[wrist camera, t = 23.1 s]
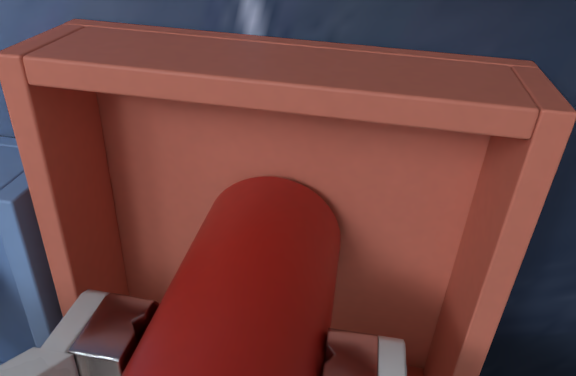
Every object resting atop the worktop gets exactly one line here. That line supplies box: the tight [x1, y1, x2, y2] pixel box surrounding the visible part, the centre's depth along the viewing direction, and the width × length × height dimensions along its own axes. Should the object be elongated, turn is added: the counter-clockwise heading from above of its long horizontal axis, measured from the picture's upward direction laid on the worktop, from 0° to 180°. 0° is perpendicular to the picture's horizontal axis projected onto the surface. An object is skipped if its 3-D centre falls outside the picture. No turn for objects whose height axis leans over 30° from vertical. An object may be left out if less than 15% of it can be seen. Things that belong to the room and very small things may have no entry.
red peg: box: [121, 176, 341, 376], centre depth 10 cm, size 4×4×7 cm
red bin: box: [0, 19, 576, 376], centre depth 13 cm, size 11×10×3 cm
